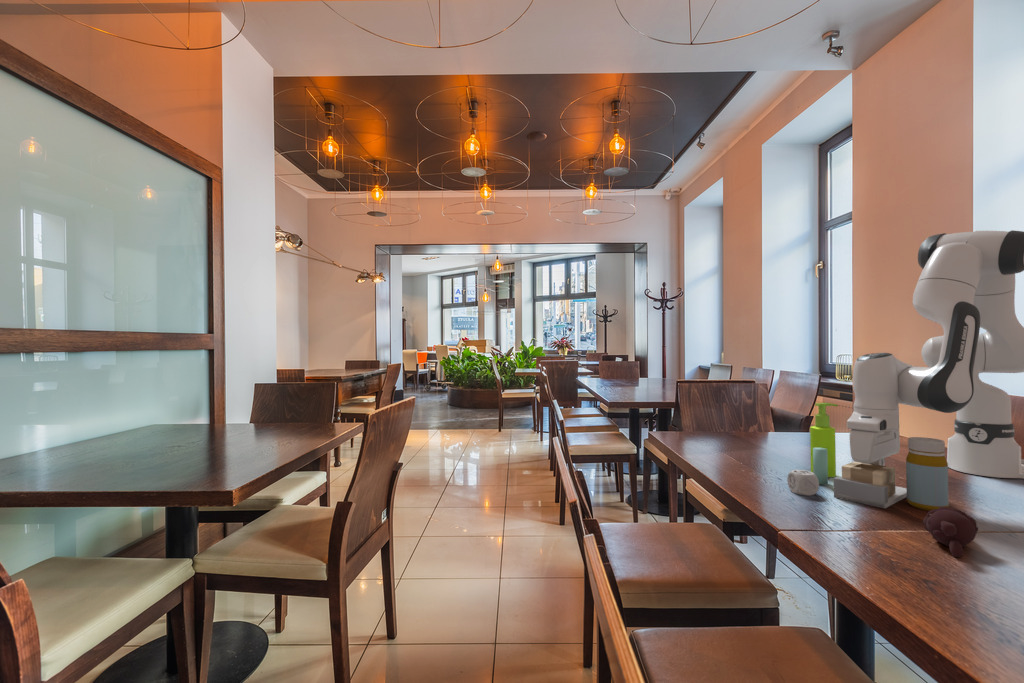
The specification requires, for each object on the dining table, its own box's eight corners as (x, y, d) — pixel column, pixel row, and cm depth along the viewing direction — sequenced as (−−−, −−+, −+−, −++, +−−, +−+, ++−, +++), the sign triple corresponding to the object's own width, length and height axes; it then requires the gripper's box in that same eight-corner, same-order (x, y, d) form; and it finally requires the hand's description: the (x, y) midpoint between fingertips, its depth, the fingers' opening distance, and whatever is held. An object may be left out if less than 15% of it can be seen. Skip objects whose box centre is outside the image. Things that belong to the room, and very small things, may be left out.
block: (855, 485, 118) (855, 461, 118) (895, 493, 111) (895, 467, 111) (842, 491, 113) (841, 466, 113) (882, 499, 107) (882, 473, 107)
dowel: (816, 480, 126) (816, 446, 127) (830, 483, 124) (829, 449, 124) (811, 482, 125) (810, 448, 125) (824, 485, 122) (824, 450, 122)
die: (819, 495, 114) (819, 475, 114) (798, 495, 114) (798, 475, 114) (807, 489, 119) (807, 469, 119) (787, 489, 119) (786, 469, 119)
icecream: (918, 494, 94) (916, 522, 83) (967, 492, 90) (973, 522, 78) (930, 529, 94) (930, 562, 82) (981, 529, 89) (988, 564, 78)
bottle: (956, 513, 101) (955, 443, 102) (919, 511, 103) (918, 442, 103) (934, 502, 108) (933, 437, 108) (899, 500, 110) (898, 436, 110)
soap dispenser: (844, 477, 129) (843, 404, 130) (819, 477, 129) (818, 404, 130) (830, 471, 135) (829, 401, 135) (806, 471, 135) (805, 401, 136)
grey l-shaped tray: (864, 483, 123) (863, 466, 123) (912, 493, 115) (912, 475, 115) (833, 497, 113) (833, 478, 113) (884, 508, 105) (884, 488, 105)
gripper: (876, 414, 124) (878, 466, 124) (843, 422, 112) (845, 480, 112) (907, 416, 119) (908, 471, 118) (875, 425, 107) (877, 486, 107)
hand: (877, 476), depth 115 cm, fingers closed
